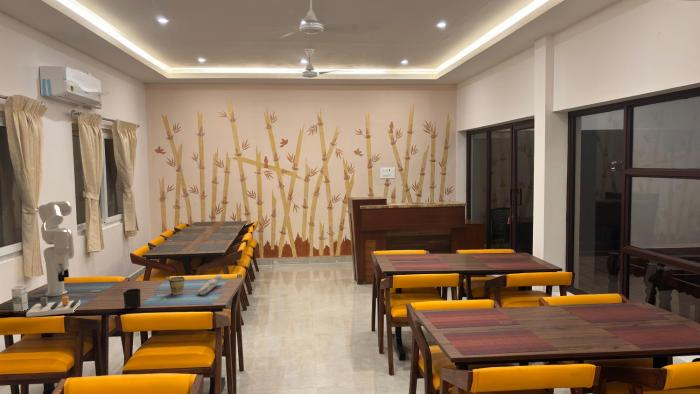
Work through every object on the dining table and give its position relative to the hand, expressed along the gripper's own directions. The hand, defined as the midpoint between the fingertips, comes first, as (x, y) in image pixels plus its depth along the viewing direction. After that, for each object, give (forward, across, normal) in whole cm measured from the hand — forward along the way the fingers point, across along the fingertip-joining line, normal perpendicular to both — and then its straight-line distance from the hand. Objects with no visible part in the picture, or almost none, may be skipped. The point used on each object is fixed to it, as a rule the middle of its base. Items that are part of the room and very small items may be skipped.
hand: (63, 279), depth 299 cm
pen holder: (+18, +9, +38) cm, 43 cm away
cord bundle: (+16, 0, 0) cm, 16 cm away
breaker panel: (+18, 0, -6) cm, 19 cm away
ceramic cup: (+18, -15, +63) cm, 67 cm away
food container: (+19, -16, +82) cm, 85 cm away
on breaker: (+15, -3, -12) cm, 20 cm away
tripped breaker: (+15, 0, 0) cm, 15 cm away
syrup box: (+18, -5, -25) cm, 31 cm away
